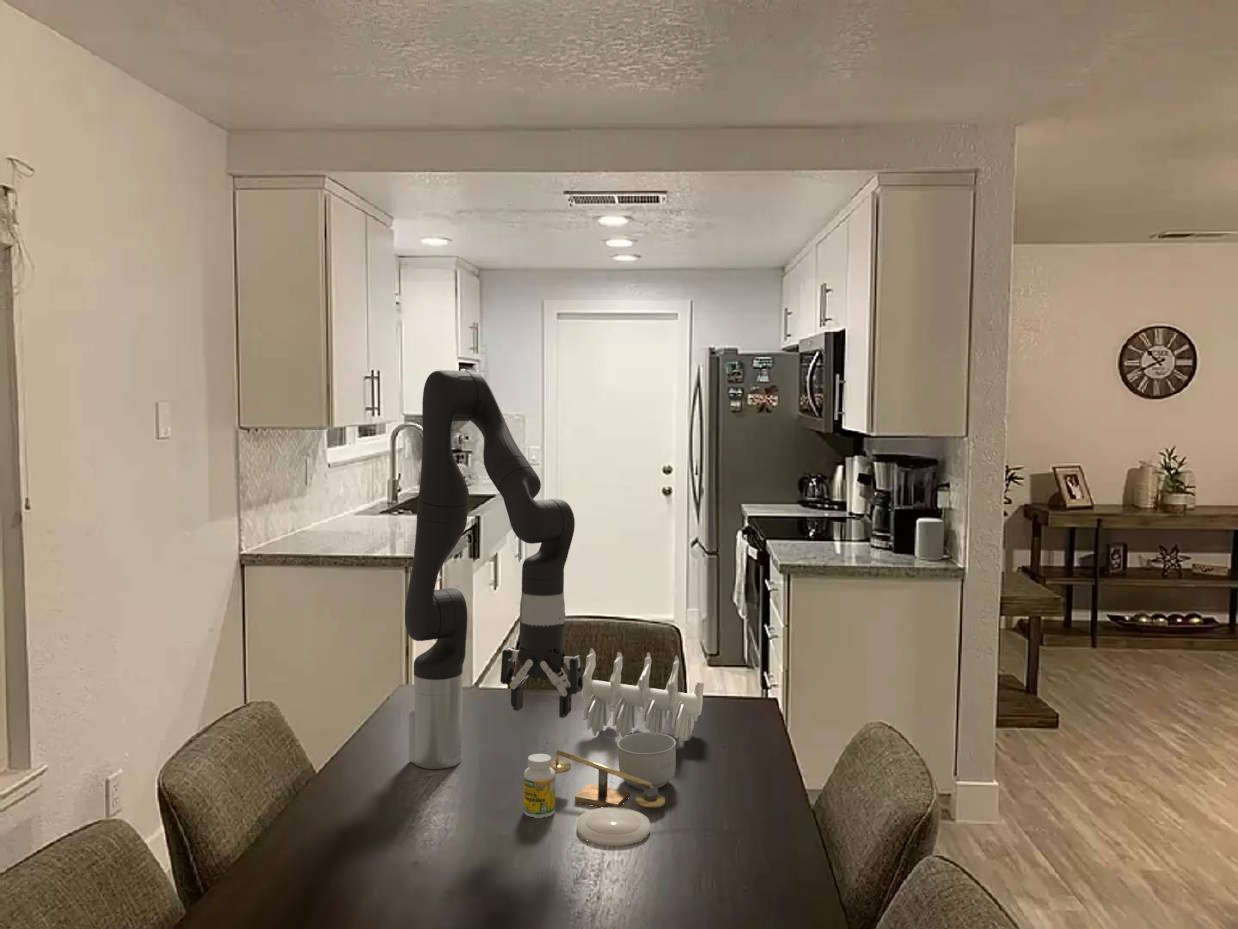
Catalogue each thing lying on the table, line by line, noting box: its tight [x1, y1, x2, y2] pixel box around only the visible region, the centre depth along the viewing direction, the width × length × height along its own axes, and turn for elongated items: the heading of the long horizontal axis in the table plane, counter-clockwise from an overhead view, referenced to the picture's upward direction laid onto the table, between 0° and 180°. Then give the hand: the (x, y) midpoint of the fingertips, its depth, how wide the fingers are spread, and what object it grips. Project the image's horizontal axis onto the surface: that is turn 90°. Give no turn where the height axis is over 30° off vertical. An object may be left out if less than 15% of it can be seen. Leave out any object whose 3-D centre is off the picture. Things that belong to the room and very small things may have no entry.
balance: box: [551, 749, 666, 809], centre depth 175 cm, size 23×6×8 cm, turn 69°
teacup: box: [616, 729, 677, 790], centre depth 185 cm, size 14×11×8 cm
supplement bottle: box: [523, 753, 556, 819], centre depth 170 cm, size 5×5×10 cm
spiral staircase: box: [580, 648, 705, 746], centre depth 207 cm, size 18×18×25 cm
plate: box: [576, 807, 651, 847], centre depth 164 cm, size 12×12×1 cm
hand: (540, 713), depth 169 cm, fingers open, 8 cm apart
